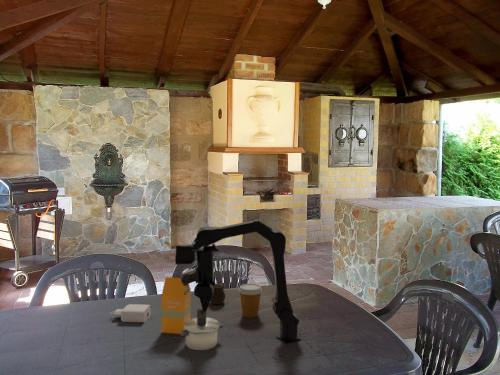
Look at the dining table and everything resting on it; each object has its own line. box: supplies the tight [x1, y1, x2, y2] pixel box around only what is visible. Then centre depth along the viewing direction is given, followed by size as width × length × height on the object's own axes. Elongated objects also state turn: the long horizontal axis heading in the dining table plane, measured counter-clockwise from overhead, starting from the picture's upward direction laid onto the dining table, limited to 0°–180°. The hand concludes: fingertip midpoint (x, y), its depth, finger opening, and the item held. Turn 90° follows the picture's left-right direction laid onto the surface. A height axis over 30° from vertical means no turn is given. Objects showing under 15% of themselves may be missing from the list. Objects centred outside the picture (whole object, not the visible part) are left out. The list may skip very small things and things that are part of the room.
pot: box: [178, 322, 224, 351], centre depth 160 cm, size 11×16×6 cm
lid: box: [184, 307, 220, 334], centre depth 160 cm, size 12×12×6 cm
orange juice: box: [161, 276, 192, 335], centre depth 172 cm, size 8×9×20 cm
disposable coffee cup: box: [238, 283, 263, 318], centre depth 188 cm, size 10×10×12 cm
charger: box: [110, 303, 152, 323], centre depth 184 cm, size 5×9×15 cm
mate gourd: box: [210, 281, 227, 305], centre depth 202 cm, size 7×8×10 cm
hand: (205, 307), depth 161 cm, fingers open, 9 cm apart
